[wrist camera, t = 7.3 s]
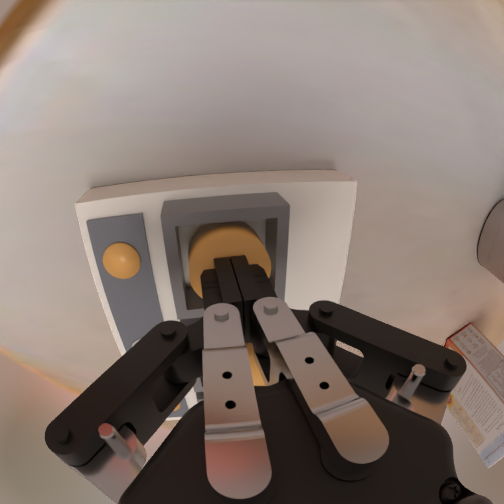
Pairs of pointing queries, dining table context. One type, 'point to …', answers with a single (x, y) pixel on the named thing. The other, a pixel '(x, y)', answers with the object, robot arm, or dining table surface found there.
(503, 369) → the cracker box
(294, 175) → the button console
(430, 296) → the dining table surface
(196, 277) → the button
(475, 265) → the dining table surface
